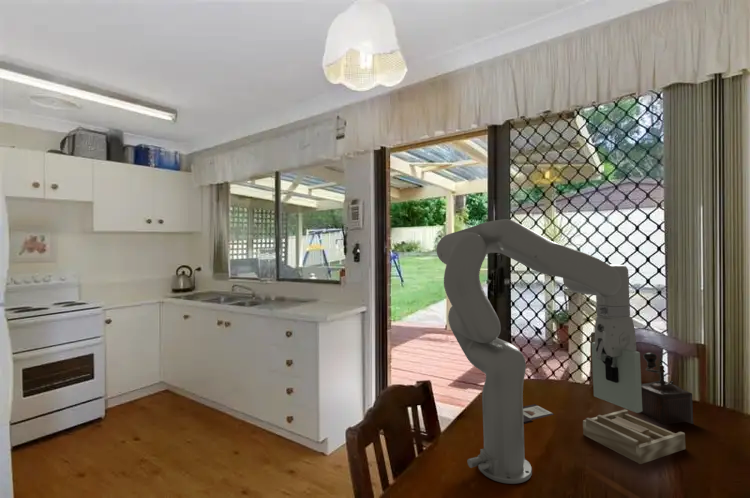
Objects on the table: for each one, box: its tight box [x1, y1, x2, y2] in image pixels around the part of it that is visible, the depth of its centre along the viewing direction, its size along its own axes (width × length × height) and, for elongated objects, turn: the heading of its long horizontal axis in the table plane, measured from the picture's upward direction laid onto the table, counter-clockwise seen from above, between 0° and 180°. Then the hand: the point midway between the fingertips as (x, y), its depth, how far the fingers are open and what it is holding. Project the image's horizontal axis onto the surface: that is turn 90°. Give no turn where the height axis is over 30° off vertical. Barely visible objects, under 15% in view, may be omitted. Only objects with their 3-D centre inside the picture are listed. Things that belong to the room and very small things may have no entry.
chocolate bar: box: [523, 403, 555, 425], centre depth 122 cm, size 9×1×18 cm
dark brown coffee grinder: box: [640, 352, 695, 425], centre depth 120 cm, size 16×11×18 cm
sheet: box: [591, 341, 642, 414], centre depth 100 cm, size 2×12×15 cm, turn 21°
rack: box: [582, 409, 686, 465], centre depth 102 cm, size 17×16×6 cm
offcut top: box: [612, 417, 649, 436], centre depth 103 cm, size 3×8×2 cm, turn 25°
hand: (615, 379), depth 100 cm, fingers closed on sheet, 2 cm apart
